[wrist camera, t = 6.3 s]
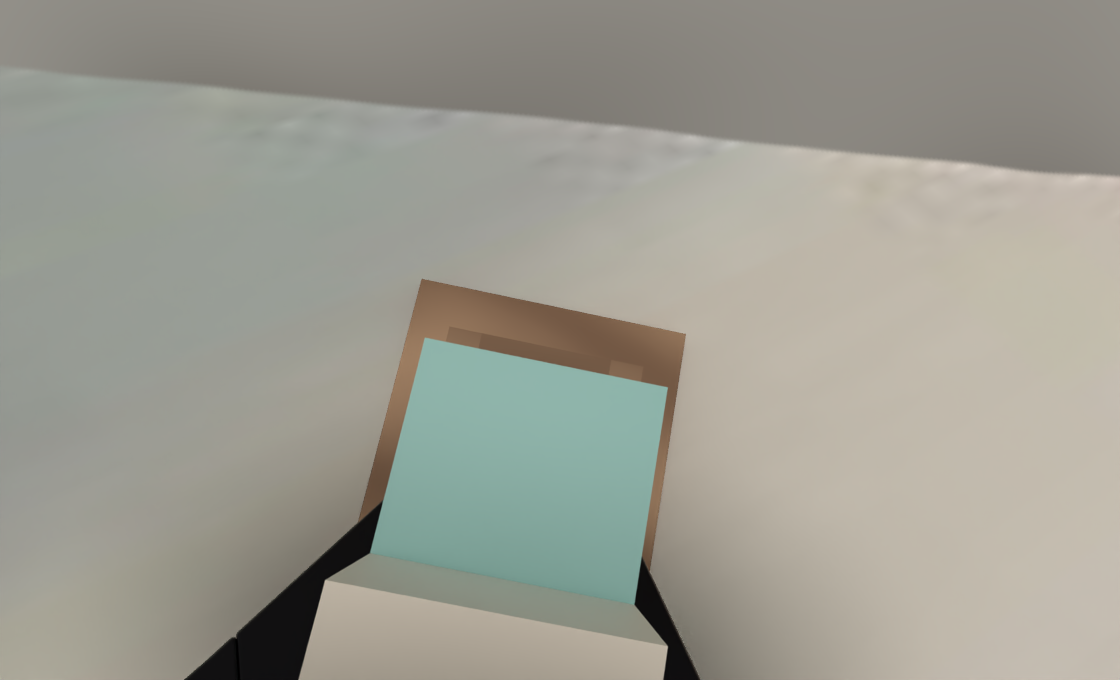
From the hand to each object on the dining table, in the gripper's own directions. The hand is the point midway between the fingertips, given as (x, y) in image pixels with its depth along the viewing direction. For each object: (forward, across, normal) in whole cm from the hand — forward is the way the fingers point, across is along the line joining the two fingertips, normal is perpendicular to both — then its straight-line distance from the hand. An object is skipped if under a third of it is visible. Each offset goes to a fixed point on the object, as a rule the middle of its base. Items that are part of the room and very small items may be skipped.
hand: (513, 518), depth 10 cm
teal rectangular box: (+4, 0, +6) cm, 7 cm away
